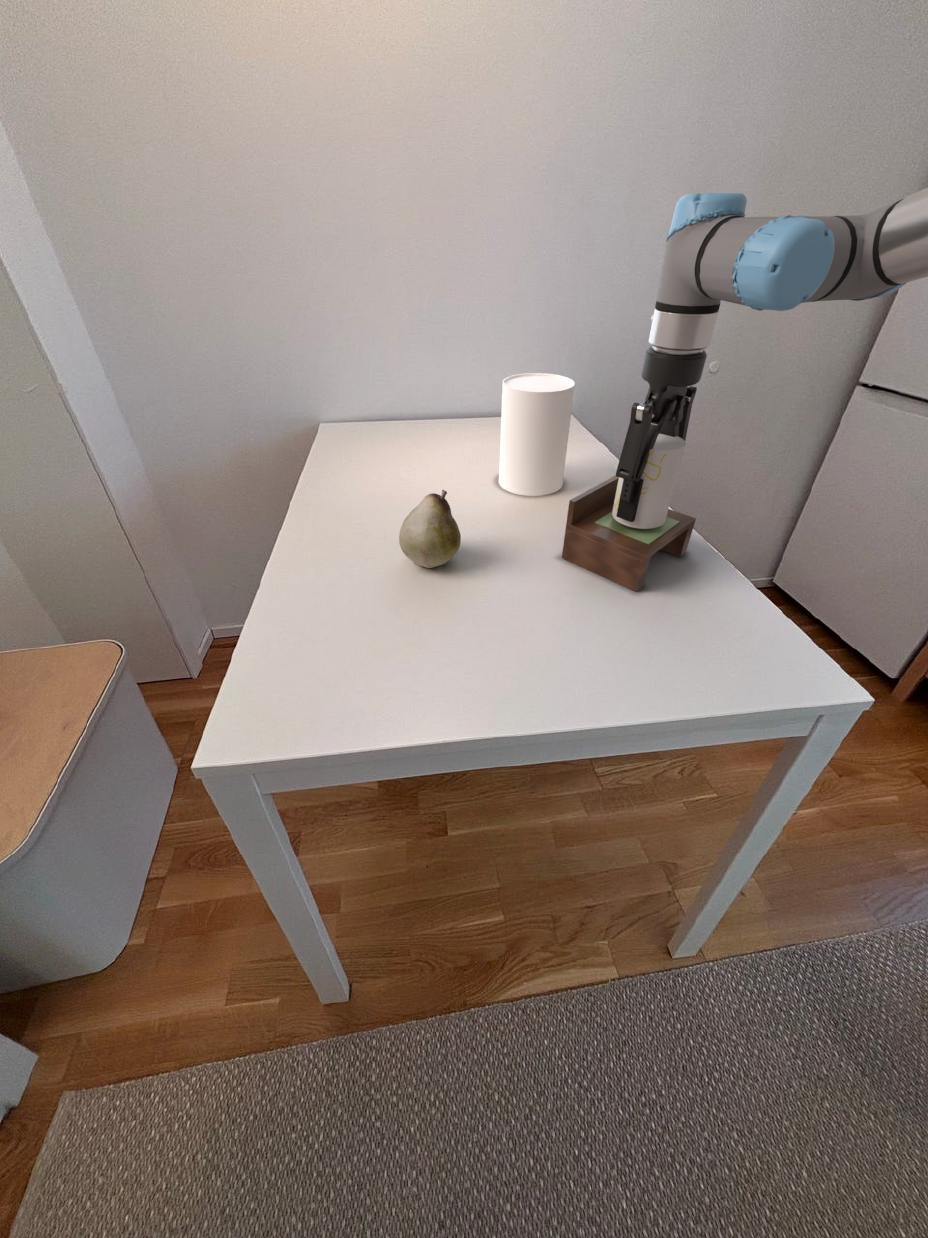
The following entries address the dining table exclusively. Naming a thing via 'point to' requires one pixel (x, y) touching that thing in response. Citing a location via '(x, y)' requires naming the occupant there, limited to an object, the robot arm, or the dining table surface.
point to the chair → (618, 537)
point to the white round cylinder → (655, 483)
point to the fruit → (430, 532)
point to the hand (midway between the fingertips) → (640, 508)
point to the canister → (534, 432)
